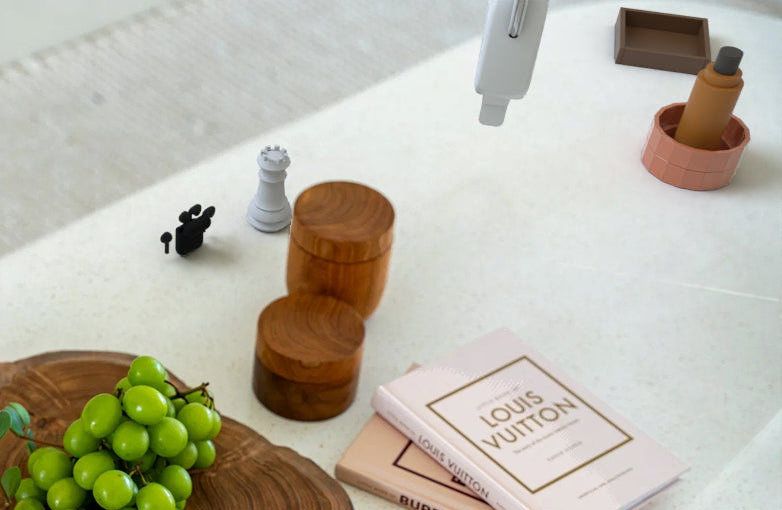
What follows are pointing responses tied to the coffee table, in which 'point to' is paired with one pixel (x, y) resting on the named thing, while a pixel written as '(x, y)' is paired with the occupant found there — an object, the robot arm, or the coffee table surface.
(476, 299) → the coffee table surface
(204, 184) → the coffee table surface
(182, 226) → the wireless earbuds
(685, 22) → the tray
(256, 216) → the rook chess piece
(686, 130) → the bottle
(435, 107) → the coffee table surface
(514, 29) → the robot arm
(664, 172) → the bowl
